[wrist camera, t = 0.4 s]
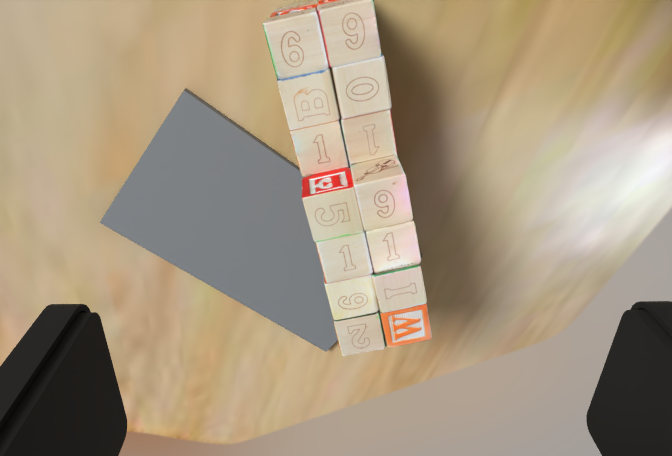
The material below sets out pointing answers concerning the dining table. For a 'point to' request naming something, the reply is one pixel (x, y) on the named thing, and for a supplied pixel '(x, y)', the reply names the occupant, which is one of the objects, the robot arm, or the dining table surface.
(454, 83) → the dining table surface
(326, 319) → the mat
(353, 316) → the stack of blocks
